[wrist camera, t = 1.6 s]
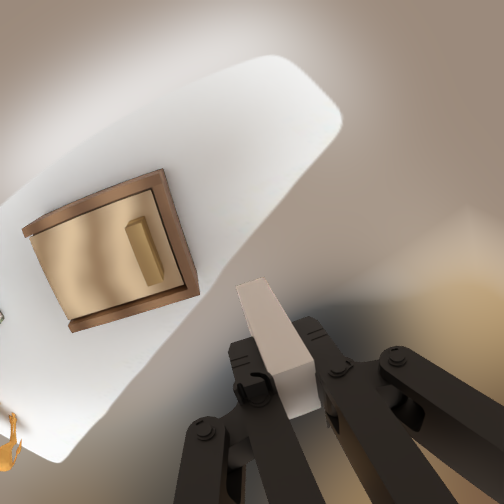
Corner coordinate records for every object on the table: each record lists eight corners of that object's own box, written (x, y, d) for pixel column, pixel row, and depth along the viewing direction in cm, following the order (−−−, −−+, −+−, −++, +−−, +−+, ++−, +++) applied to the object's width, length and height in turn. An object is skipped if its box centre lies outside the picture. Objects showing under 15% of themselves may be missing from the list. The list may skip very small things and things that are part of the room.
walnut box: (162, 168, 32) (159, 173, 26) (196, 272, 37) (200, 294, 31) (42, 215, 30) (21, 229, 24) (83, 308, 35) (72, 332, 29)
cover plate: (151, 188, 28) (147, 194, 25) (183, 281, 32) (184, 297, 29) (32, 235, 26) (17, 246, 23) (70, 316, 30) (61, 333, 27)
